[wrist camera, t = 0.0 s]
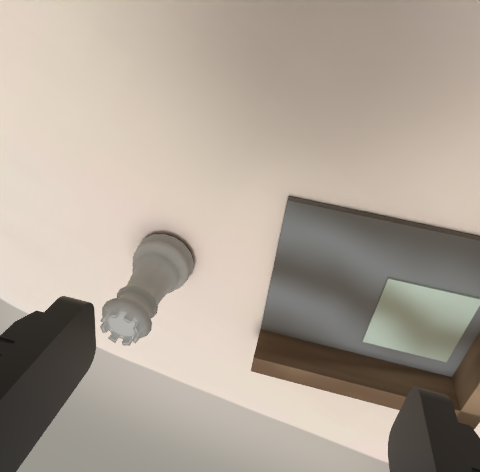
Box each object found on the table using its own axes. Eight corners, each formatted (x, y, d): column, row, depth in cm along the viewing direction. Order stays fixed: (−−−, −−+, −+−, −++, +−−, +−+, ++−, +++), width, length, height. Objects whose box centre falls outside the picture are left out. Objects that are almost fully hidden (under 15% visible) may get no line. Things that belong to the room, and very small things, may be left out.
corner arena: (288, 196, 27) (281, 222, 24) (552, 251, 25) (579, 287, 22) (259, 337, 34) (250, 371, 31) (462, 388, 32) (474, 429, 29)
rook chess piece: (208, 261, 31) (169, 338, 24) (171, 288, 33) (126, 366, 26) (163, 219, 30) (111, 288, 23) (129, 250, 32) (71, 321, 25)
